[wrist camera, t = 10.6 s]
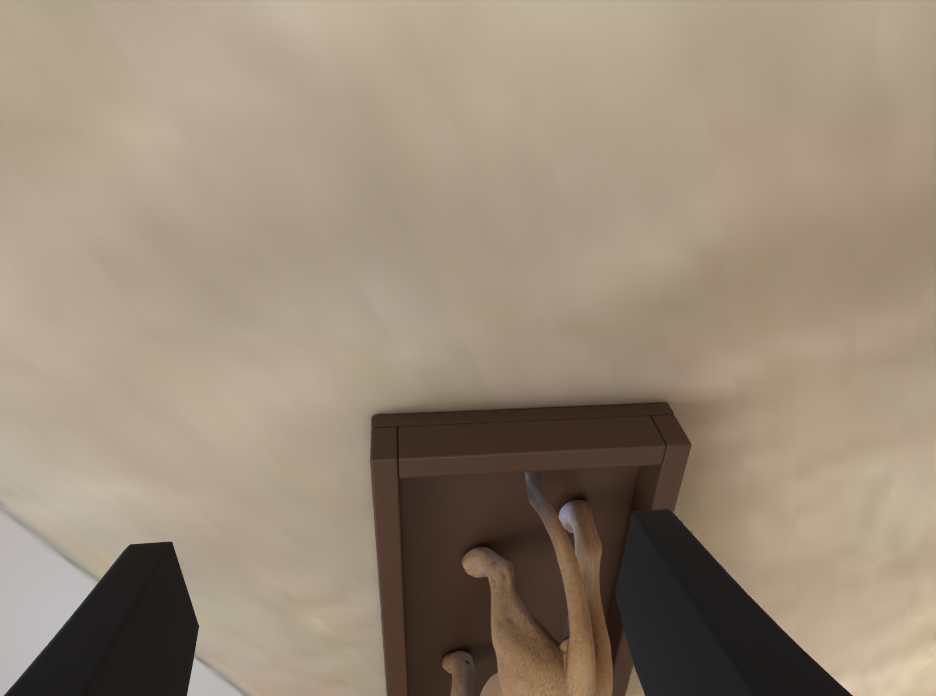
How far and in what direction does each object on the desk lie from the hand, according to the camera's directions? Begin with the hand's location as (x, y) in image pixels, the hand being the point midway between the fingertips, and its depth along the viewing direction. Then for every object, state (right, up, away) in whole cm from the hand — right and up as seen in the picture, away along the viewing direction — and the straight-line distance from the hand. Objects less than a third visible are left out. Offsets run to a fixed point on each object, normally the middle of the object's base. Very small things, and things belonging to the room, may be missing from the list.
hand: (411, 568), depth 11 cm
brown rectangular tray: (+2, -6, +15) cm, 16 cm away
